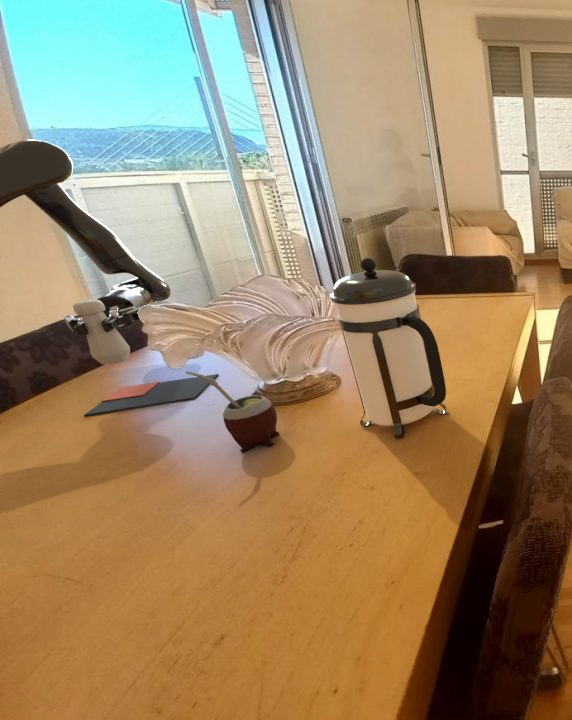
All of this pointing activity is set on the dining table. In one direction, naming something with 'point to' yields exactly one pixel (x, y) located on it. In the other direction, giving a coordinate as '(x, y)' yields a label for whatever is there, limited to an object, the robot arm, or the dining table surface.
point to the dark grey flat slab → (151, 395)
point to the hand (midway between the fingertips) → (93, 328)
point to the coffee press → (389, 347)
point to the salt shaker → (101, 334)
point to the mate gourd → (248, 419)
